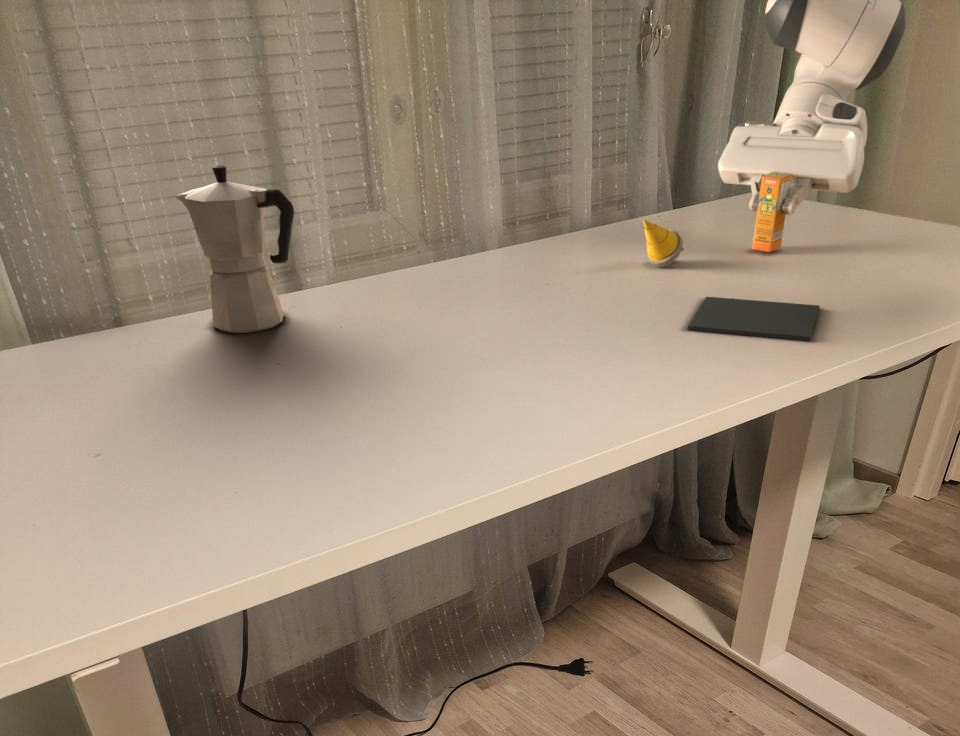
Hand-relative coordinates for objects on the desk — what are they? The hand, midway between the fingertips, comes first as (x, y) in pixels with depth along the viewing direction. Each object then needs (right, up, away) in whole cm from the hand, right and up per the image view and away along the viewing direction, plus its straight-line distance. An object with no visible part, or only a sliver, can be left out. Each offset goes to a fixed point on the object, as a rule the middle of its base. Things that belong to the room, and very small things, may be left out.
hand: (770, 210), depth 125 cm
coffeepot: (-71, -22, -14) cm, 76 cm away
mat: (-9, -23, -20) cm, 32 cm away
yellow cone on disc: (-16, -9, 0) cm, 18 cm away
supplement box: (+1, -4, +4) cm, 6 cm away
